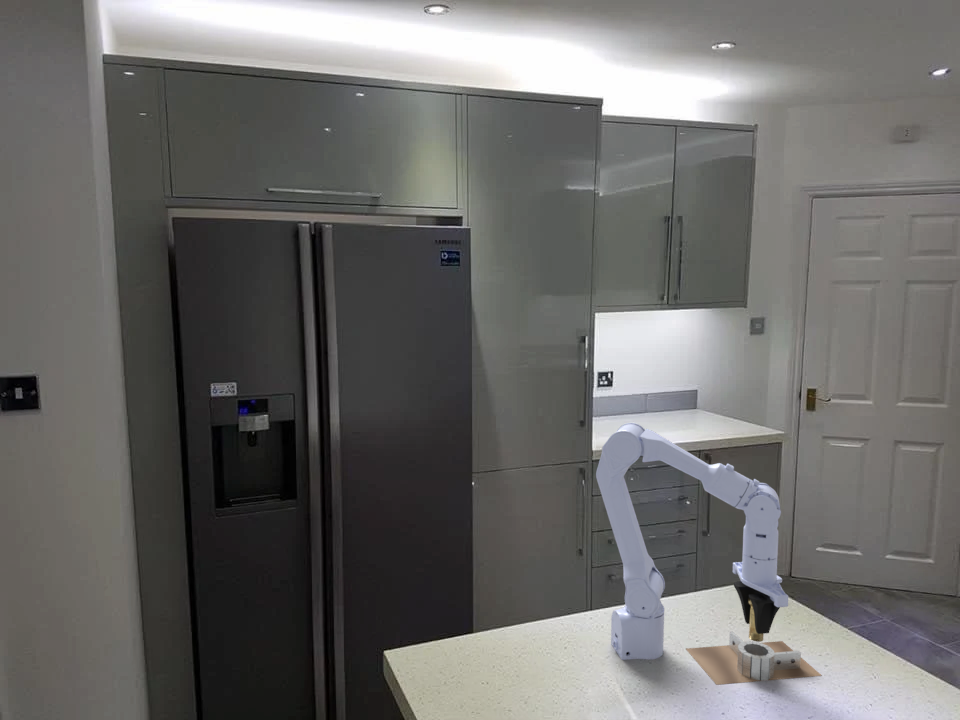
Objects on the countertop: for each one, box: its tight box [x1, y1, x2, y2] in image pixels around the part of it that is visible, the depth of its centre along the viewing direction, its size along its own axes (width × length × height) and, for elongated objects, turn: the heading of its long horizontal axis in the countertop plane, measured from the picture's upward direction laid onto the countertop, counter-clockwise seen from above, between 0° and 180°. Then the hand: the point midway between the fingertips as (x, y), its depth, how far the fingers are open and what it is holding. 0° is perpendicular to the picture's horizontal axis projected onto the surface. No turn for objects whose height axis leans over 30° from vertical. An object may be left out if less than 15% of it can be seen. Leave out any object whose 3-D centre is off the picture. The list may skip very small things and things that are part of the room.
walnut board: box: [685, 640, 822, 686], centre depth 122 cm, size 20×12×1 cm, turn 98°
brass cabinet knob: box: [748, 598, 764, 643], centre depth 118 cm, size 3×3×7 cm
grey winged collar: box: [728, 630, 802, 682], centre depth 122 cm, size 12×12×4 cm
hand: (757, 627), depth 119 cm, fingers closed on brass cabinet knob, 3 cm apart
